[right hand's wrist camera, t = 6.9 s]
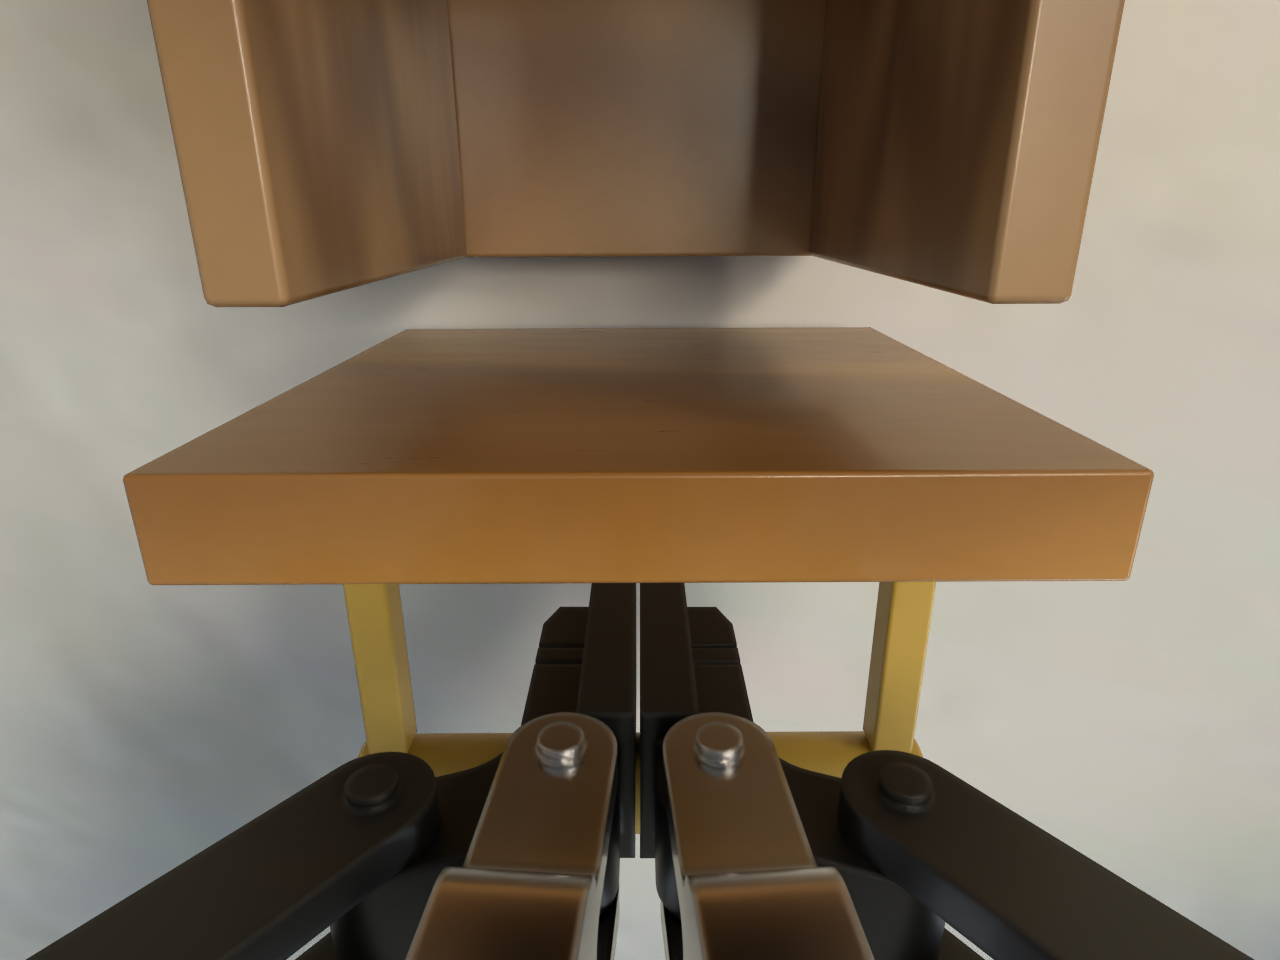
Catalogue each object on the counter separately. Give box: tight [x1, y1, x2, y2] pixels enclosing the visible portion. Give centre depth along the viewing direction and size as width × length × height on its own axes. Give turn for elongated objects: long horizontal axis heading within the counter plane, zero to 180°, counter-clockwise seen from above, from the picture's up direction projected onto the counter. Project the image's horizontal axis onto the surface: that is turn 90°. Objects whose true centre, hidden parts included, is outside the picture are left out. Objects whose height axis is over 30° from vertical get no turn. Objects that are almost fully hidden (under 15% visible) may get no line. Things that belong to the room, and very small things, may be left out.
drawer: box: [123, 0, 1154, 834], centre depth 10 cm, size 22×10×9 cm, turn 0°
